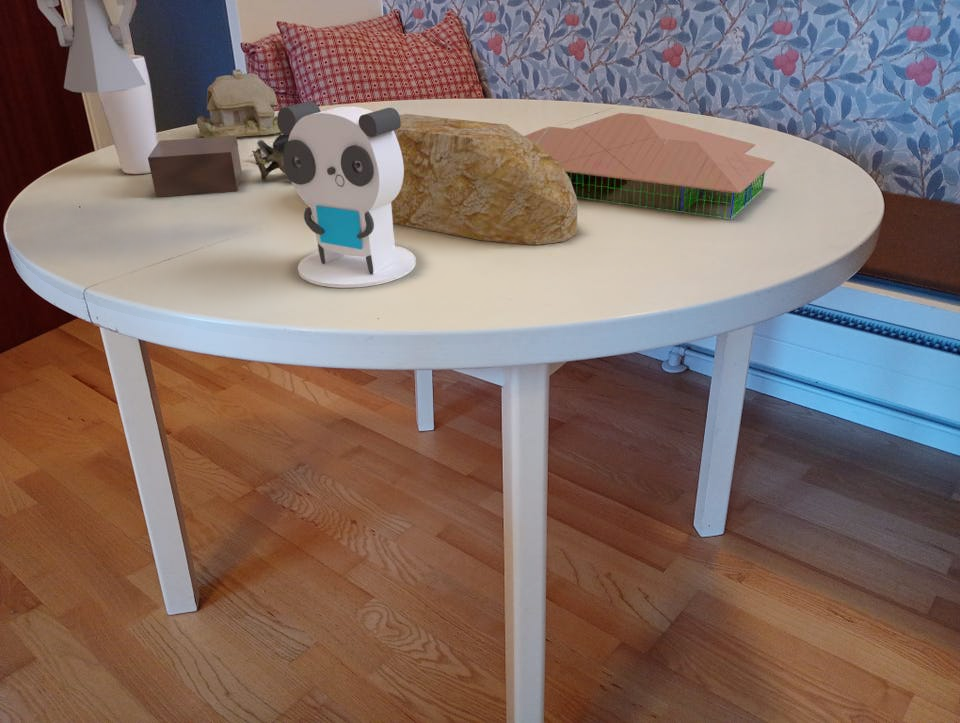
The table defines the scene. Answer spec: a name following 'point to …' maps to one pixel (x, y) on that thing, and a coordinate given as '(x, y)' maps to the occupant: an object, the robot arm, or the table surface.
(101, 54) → the flask
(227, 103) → the ceramic model
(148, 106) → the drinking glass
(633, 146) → the house
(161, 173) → the walnut block
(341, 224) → the panda figurine
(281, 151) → the eagle figurine
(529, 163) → the brown rock
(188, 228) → the table surface
